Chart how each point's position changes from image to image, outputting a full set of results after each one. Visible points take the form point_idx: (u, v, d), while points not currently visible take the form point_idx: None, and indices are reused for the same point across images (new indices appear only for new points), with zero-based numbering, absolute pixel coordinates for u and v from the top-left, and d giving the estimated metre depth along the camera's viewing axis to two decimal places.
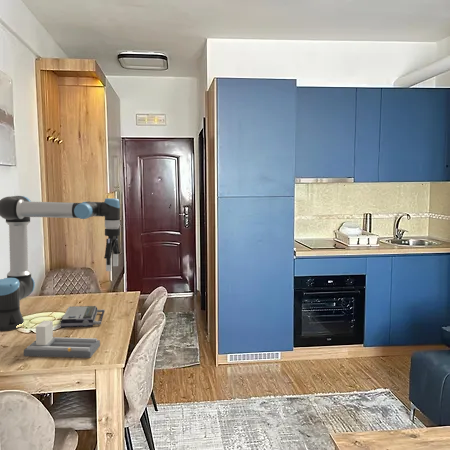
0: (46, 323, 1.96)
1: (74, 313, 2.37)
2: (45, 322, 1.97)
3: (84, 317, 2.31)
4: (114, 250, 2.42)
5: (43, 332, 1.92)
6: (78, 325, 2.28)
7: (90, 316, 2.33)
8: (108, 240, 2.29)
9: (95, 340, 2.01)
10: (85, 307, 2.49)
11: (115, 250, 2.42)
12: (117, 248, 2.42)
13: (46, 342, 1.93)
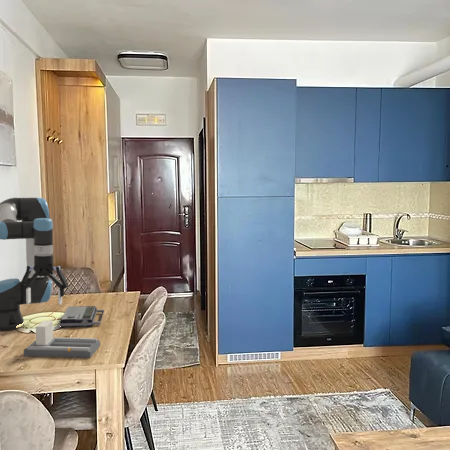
0: (46, 323, 1.96)
1: (73, 313, 2.37)
2: (45, 322, 1.97)
3: (83, 317, 2.31)
4: None
5: (43, 332, 1.92)
6: (77, 325, 2.28)
7: (89, 316, 2.33)
8: None
9: (95, 340, 2.01)
10: (84, 307, 2.49)
11: None
12: (57, 282, 1.93)
13: (46, 342, 1.93)
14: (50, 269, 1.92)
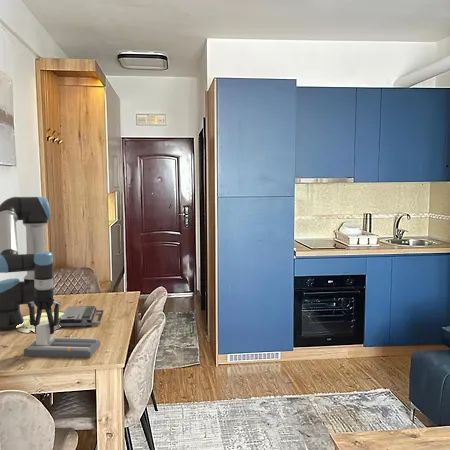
0: (46, 323, 1.96)
1: (73, 313, 2.37)
2: (45, 322, 1.97)
3: (83, 317, 2.31)
4: None
5: (43, 332, 1.92)
6: (77, 325, 2.28)
7: (89, 316, 2.32)
8: None
9: (95, 340, 2.01)
10: (84, 307, 2.49)
11: None
12: (50, 319, 1.94)
13: (46, 342, 1.93)
14: (50, 303, 1.94)
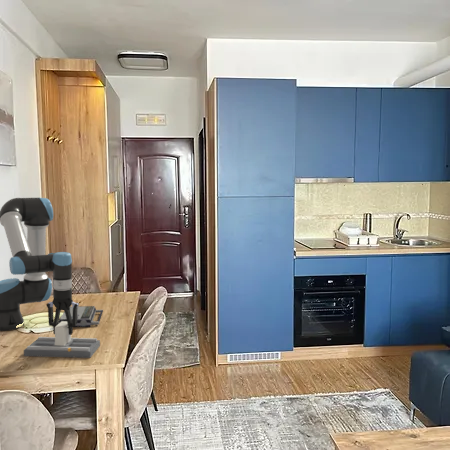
0: (65, 323, 1.96)
1: (72, 313, 2.37)
2: (63, 322, 1.97)
3: (82, 317, 2.31)
4: None
5: (62, 332, 1.92)
6: (76, 325, 2.28)
7: (88, 316, 2.32)
8: None
9: (95, 340, 2.01)
10: (83, 307, 2.48)
11: None
12: (69, 319, 1.94)
13: (65, 342, 1.93)
14: (68, 303, 1.94)
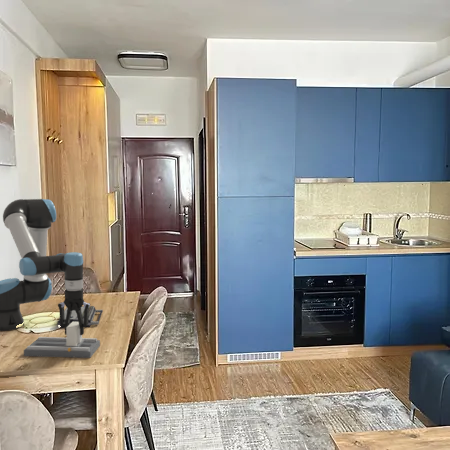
0: (76, 324, 1.96)
1: (72, 313, 2.37)
2: (75, 323, 1.97)
3: None
4: None
5: (74, 333, 1.92)
6: None
7: None
8: None
9: (95, 340, 2.01)
10: (83, 307, 2.48)
11: None
12: (80, 320, 1.94)
13: (76, 343, 1.93)
14: (80, 303, 1.94)
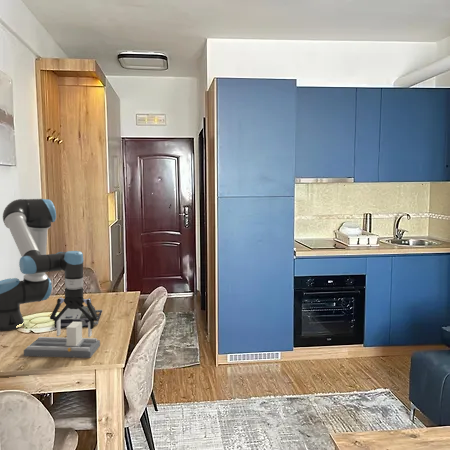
0: (76, 324, 1.96)
1: (71, 313, 2.37)
2: (75, 323, 1.97)
3: (81, 317, 2.30)
4: None
5: (74, 333, 1.92)
6: None
7: None
8: None
9: (95, 340, 2.01)
10: None
11: None
12: (87, 314, 1.94)
13: (76, 343, 1.93)
14: (80, 302, 1.94)
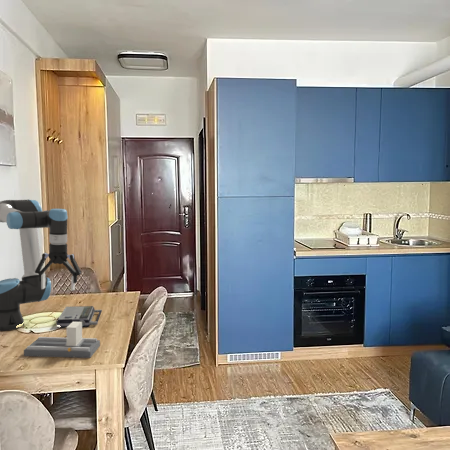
0: (76, 324, 1.96)
1: (71, 313, 2.37)
2: (75, 323, 1.97)
3: (80, 317, 2.30)
4: None
5: (74, 333, 1.92)
6: None
7: (86, 316, 2.32)
8: None
9: (95, 340, 2.01)
10: (82, 307, 2.48)
11: None
12: (71, 269, 2.04)
13: (76, 343, 1.93)
14: (64, 257, 2.04)
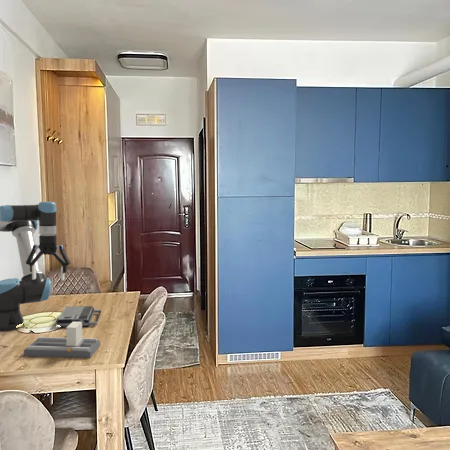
0: (76, 324, 1.96)
1: (70, 313, 2.37)
2: (75, 323, 1.97)
3: (80, 317, 2.30)
4: None
5: (74, 333, 1.92)
6: None
7: (86, 316, 2.32)
8: None
9: (95, 340, 2.01)
10: (82, 307, 2.48)
11: None
12: (60, 259, 2.12)
13: (76, 343, 1.93)
14: (54, 248, 2.12)
